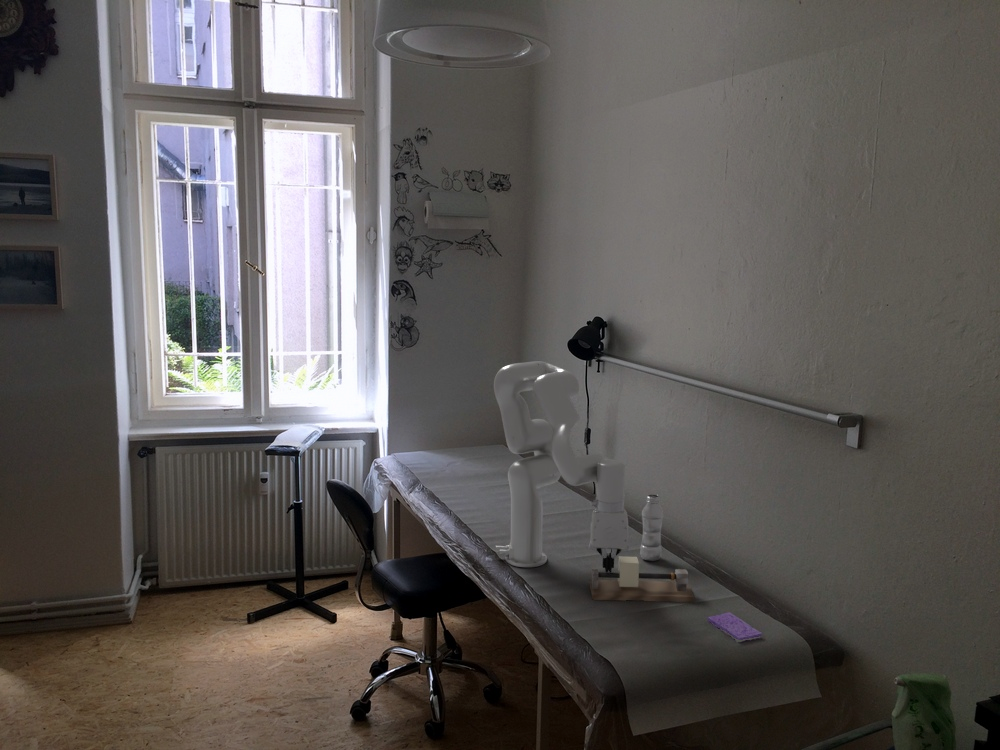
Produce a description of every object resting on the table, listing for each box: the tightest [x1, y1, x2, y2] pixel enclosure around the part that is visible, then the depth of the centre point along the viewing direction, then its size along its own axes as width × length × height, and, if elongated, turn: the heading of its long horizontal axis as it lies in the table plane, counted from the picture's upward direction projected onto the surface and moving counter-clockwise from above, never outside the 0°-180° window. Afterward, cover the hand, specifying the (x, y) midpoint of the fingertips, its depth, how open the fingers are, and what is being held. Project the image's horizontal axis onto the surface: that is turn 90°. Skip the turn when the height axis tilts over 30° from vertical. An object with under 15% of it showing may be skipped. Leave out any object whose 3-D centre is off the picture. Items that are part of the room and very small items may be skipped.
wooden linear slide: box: [589, 568, 695, 603], centre depth 217 cm, size 27×10×6 cm, turn 88°
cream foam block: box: [617, 556, 640, 587], centre depth 217 cm, size 5×5×7 cm
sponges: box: [707, 611, 762, 640], centre depth 197 cm, size 7×13×2 cm, turn 22°
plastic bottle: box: [639, 494, 664, 562], centre depth 241 cm, size 6×7×20 cm
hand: (608, 570), depth 217 cm, fingers closed
